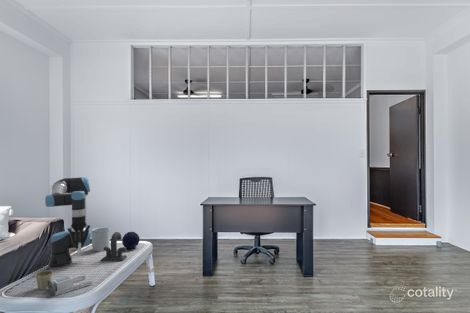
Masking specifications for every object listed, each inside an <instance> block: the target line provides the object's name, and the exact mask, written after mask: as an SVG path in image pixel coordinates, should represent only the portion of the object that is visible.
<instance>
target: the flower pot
mask: <svg viewBox="0 0 470 313" xmlns="http://www.w3.org/2000/svg"><path fill="white" fill-rule="evenodd" d="M53 273H54V271H53V270H44V271H39V272H37V273H35V275H34V277H35V279H36V284H37V289H38V290H41V291H42V290H46V289H48V281H49V280H50V281H51V282H52V275H53Z"/></svg>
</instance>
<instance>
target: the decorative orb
mask: <svg viewBox="0 0 470 313" xmlns="http://www.w3.org/2000/svg"><path fill="white" fill-rule="evenodd" d="M139 243H140V236H139V234H138V233H136V232H135V231H128V232H126V233H125V234H124V235H123V237H122V239H121V244H122V245H123V247H126V250H128V249H130V250H131V249H133V250H134V249H135V248H136V247H137V246H138V245H139Z"/></svg>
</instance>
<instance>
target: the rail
mask: <svg viewBox="0 0 470 313" xmlns="http://www.w3.org/2000/svg"><path fill="white" fill-rule="evenodd" d="M84 280H86V275H83V276H79V277H75V278H74V277H73V282H74V283H76V282H77V283H78V282H80V281H84ZM91 285H92V286H93V281H87V282H83V283H80V284H76V285H74V286H72V287H69V288H66V289H62V290H59V291H56V289H55V286H54V284H53V282H52V280H51V281H50V280H49V281H48V288H47V290H48V291H49V293H50V294H51V295H52V296H53V297H56V296H59V295H62V294H65V293H68V292H69V293H70V292H72V291H75V290H79V289H82V288H85V287H89V286H91Z"/></svg>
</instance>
